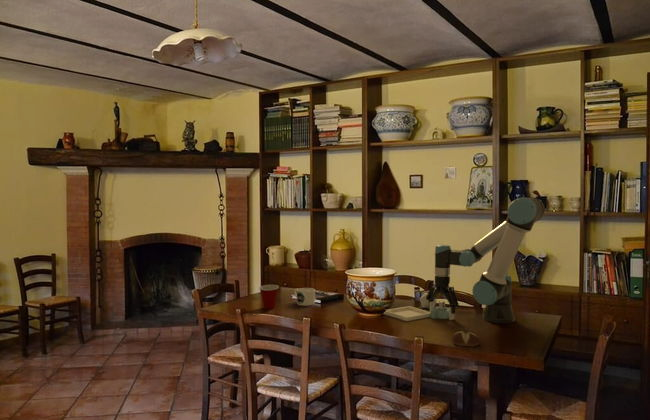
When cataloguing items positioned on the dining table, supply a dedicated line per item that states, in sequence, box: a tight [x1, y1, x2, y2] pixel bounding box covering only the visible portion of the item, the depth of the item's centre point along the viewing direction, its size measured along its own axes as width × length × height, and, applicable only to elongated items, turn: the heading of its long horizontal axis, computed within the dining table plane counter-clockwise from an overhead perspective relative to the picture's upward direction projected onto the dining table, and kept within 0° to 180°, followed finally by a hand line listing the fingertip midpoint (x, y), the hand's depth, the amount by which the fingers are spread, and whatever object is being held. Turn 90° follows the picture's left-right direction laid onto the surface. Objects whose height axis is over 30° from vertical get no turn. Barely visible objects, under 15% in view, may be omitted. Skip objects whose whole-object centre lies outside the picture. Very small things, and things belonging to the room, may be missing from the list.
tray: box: [383, 305, 431, 322], centre depth 265 cm, size 18×18×2 cm
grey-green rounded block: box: [430, 306, 449, 320], centre depth 260 cm, size 11×8×4 cm
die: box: [419, 292, 438, 309], centre depth 282 cm, size 8×9×10 cm
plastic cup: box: [258, 284, 280, 310], centre depth 280 cm, size 11×11×12 cm
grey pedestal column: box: [438, 300, 446, 310], centre depth 261 cm, size 6×6×8 cm
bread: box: [452, 330, 481, 348], centre depth 217 cm, size 11×11×5 cm
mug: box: [293, 287, 316, 307], centre depth 292 cm, size 13×10×8 cm
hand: (441, 317), depth 261 cm, fingers open, 13 cm apart
